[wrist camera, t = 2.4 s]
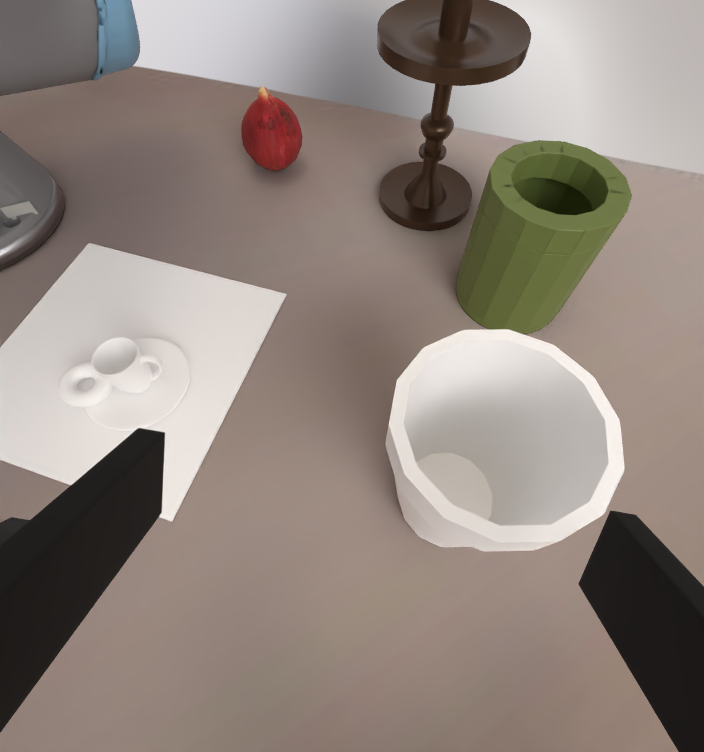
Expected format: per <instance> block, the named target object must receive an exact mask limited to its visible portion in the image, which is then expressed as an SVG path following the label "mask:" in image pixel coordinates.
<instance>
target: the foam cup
mask: <svg viewBox="0 0 704 752" xmlns="http://www.w3.org/2000/svg"><path fill="white" fill-rule="evenodd" d="M385 446H386V449H387V452H388V456H389V459H390V462H391V466H392V469H393V472H394V477H395V483H396V490H397V496H398V500H399V503H400V507H401V510H402V513H403V517H404V520H405V521H406V522H407V523H408V525H409V526H410V527H411V528H412V529H413V530H414V532H415V533H416V534H417V535H418V536H419V537H420V538H422V539H424V540H426V541H428V542H430V543H433V544H435V545H437V546H439V547H474V548H476V549H478V550H480V551H528V550H537V549H540V548H542V547H545V546H548V545H551V544H554V543H556V542H559V541H561V540H562V539H564V538H566V537H567V536H569V535H570V534H572V533H574V532H575V531H577V530H579V529H580V528H582V527H584V526H585V525H587V524H589V523H590V522H592V521H594V520H595V519H597V518H599V517H600V516H602V515H603V514H604V513H605V510H606V508H607V506H608V504H609V502H610V500H611V498H612V496H613V493H614V491H615V489H616V487H617V485H618V483H619V481H620V479H621V476H622V474H623V472H624V470H625V469H624V458H623V448H622V438H621V428H620V420H619V418H618V417H617V415H616V413H615V412H614V410H613V408H612V407H611V405H610V403H609V401H608V400H607V398H606V396H605V395H604V393H603V391H602V390H601V388H600V386H599V385H598V383H597V381H596V380H595V378H594V376H592V375H591V374H590V373H588V372H587V371H586V370H585V369H583V368H582V367H581V366H580V365H578V364H577V363H576V362H575V361H573V360H572V359H571V358H570V357H568V356H567V355H566V354H565V353H563V352H562V351H561V350H560V349H558V348H557V347H556V346H555V345H552V344H549V343H546V342H543V341H541V340H538V339H535V338H532V337H529V336H526V335H523V334H520V333H518V332H515V331H512V330H509V329H496V330H462V331H459V332H457V333H455V334H453V335H450V336H448V337H446V338H444V339H441V340H439V341H437V342H435V343H432V344H430V345H428V346H426V347H424V348H423V349H422V350H421V351H420V352H419V354H418V355H417V356H416V357H415V359H414V360H413V361H412V362H411V363H410V365H409V366H408V367H407V368H406V370H405V371H404V372H403V373H402V375H401V376H400V377H399V378H398V379H397V382H396V387H395V393H394V398H393V403H392V409H391V415H390V420H389V426H388V431H387V437H386V442H385Z"/></svg>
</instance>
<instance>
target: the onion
mask: <svg viewBox="0 0 704 752" xmlns="http://www.w3.org/2000/svg"><path fill="white" fill-rule="evenodd" d="M241 130H242V141H243V145H244V147H245V149H246V151H247V153H248V154H249V155H250V156H251V158H252V159H253V160H254V161H255V162H256V163H258V164H259V165H261V166H262V167H264V168H266V169H270V170H273V171H279V170H281V169H283V168H286V167H287V166H288V165H290V164H291V163H292V162H293V161H294V160H295V159H296V158H297V155H298V153H299V151H300V148H301V146H302V133H301V128H300V125H299V122H298V120H297V117H296V115H295V114H294V112H293V111H292V110H291V108H290V107H289V106H288V105H287V104H286V103H284V102H283V101H281V100H280V99H278V98H275V97H272V95H271V94H270V93H269V92H268V90H267V89H266V88H265V87H260V90H259V95H258V99H257V100H256V101H254V102H253V103H252V104H251V105H250V107H249V108H248V110H247V112H246V114H245V116H244V118H243V121H242V127H241Z"/></svg>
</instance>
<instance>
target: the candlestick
mask: <svg viewBox="0 0 704 752" xmlns="http://www.w3.org/2000/svg"><path fill="white" fill-rule="evenodd" d="M530 39H531V32H530V28H529V26H528V24H527V23H526V21H525V20H524V19H523V18H522V17H521V16H520V15H518V14H517V13H516V12H514V11H513V10H511V9H509V8H507V7H506V6H503V5H501V4H499V3H496V2H493V1H490V0H405V1H402V2H400V3H398V4H396V5H394V6H392V7H391V8H389V9H388V10H386V12H385V13H384V14H383V15H382V16H381V18H380V20H379V22H378V33H377V49H378V51H379V54H380V56H381V57H382V58H383V60H384V61H385V62H386V63H387V64H388V65H390V66H391V67H392V68H393V69H395V70H397V71H399V72H400V73H402V74H404V75H407V76H409V77H412V78H414V79H417V80H421V81H425V82H429V83H435V90H434V97H433V103H432V110H431V113H428V114H426V115H425V116H424V117H423V119H422V120H421V130H422V133H423V135H424V137H425V138H426V141H425V143H423V144H422V145H421V146H420V148H419V155H420V157H421V158H422V159H424V160H423V162H413V163H408V164H404V165H401V166H399V167H396V168H395V169H393V170H392V171H390V172H389V173H388V174H387V175H386V176H385V177H384V179H383V180H382V183H381V186H380V204H381V207H382V209H383V210H384V212H385V213H386V214H387V215H388V216H389V217H390V218H391V219H392V220H394V221H395V222H397V223H399V224H401V225H403V226H405V227H408V228H411V229H416V230H425V231H432V230H440V229H444V228H448V227H450V226H452V225H455V224H456V223H458V222H459V221H460V220H462V219H463V217H464V216H465V215H466V214H467V212H468V210H469V206H470V203H471V198H472V191H471V188H470V185H469V183H468V182H467V180H466V179H465V178H464V177H463V176H462V175H461V174H460V173H458V172H457V171H455V170H454V169H452V168H449V167H447V166H444V165H441V164H438V161H440V160H442V159H443V158H444V157H445V155H446V148H445V146H444V145H442V144H443V140H444V139H446V138H447V137H448V136H449V134H450V133H451V131H452V130H453V126H454V122H453V120H452V118H451V117H450V116H449V115H447V111H448V106H449V101H450V95H451V90H452V85H456V86H458V85H459V86H465V85H477V84H482V83H488V82H493V81H495V80H498V79H501V78H503V77H505V76H507V75H509V74H511V73H513V72H514V71H515V70H516V69H518V68H519V67H520V66H521V64H522V63H523V61H524V59H525V57H526V53H527V50H528V47H529V44H530Z"/></svg>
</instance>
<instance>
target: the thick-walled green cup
mask: <svg viewBox="0 0 704 752" xmlns="http://www.w3.org/2000/svg"><path fill="white" fill-rule="evenodd" d="M631 196H632V194H631V191H630V188H629V185H628V182H627V179H626V177H625V176H624V175H623V174H622V173H621V172H620V171H619V170H618V169H617V168H616V167H615V166H614V165H613V164H612V163H611V162H610V161H609V160H608V159H606V158H604V157H602V156H601V155H599V154H597V153H595V152H593V151H591V150H590V149H588V148H584V147H581V146H577V145H573V144H570V143H567V142H561V141H540V140H539V141H533V142H528V143H523V144H518V145H514V146H512V147H511V148H509V149H508V150H506V151H504V152H503V153H501V154H500V155H498V156H497V158H496V160H495V162H494V164H493V165H492V167H491V169H490V171H489V175H488V178H487V181H486V184H485V188H484V191H483V194H482V197H481V201H480V204H479V207H478V210H477V214H476V217H475V220H474V223H473V227H472V230H471V233H470V236H469V240H468V243H467V246H466V249H465V253H464V256H463V259H462V262H461V266H460V269H459V272H458V278H457V282H456V294H457V297H458V300H459V303H460V305H461V306H462V308H463V309H464V311H465V312H466V313H467V314H468V315H469V316H470V317H471V318H472V319H473V320H474V321H476V322H477V323H479V324H480V325H482V326H484V327H486V328H488V329H490V330H496V329H509V330H512V331H515V332H518V333H520V334H526V333H531V332H534V331H537V330H539V329H541V328H543V327H545V326H546V325H547V324H549V323H550V322H551V321H552V319H553V318H554V317H555V315H556V314H557V313H558V312H559V311H560V309H561V308H562V307H563V305H564V304H565V302H566V301H567V299H568V298H569V296H570V295H571V293H572V292H573V290H574V289H575V287H576V286H577V284H578V283H579V281H580V280H581V279H582V277H583V276H584V274H585V273H586V271H587V270H588V268H589V267H590V265H591V264H592V262H593V261H594V259H595V258H596V256H597V255H598V253H599V252H600V251H601V249H602V248H603V246H604V245H605V243H606V242H607V240H608V239H609V237H610V236H611V234H612V233H613V231H614V230H615V229H616V227H617V226H618V224H619V223H620V221H621V220H622V218H623V217H624V215H625V214H626V212H627V210H628V206H629V203H630V200H631Z"/></svg>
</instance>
